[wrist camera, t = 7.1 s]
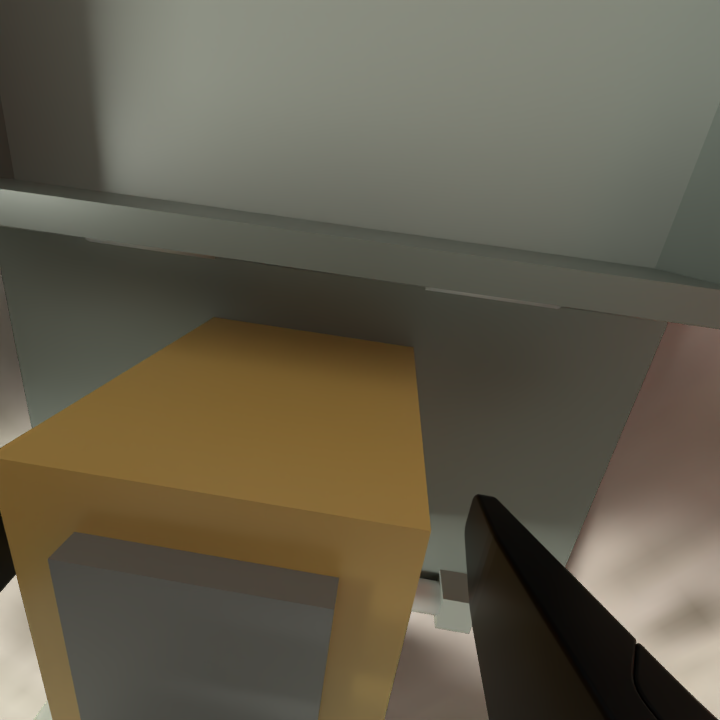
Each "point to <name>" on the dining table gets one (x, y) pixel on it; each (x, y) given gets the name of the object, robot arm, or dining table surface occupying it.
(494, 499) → the robot arm
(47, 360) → the lid
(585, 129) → the case
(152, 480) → the block
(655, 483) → the dining table surface
